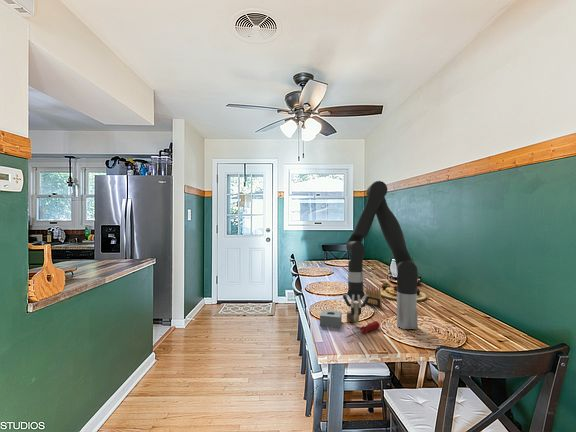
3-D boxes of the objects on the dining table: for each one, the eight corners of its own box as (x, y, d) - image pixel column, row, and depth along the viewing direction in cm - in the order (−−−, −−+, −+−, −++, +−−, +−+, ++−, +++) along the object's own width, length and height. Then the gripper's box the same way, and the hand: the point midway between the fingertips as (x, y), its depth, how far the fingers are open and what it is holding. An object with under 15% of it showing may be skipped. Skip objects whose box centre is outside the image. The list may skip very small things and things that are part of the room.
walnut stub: (356, 319, 158) (356, 311, 158) (355, 322, 154) (355, 314, 154) (346, 319, 159) (346, 310, 159) (346, 322, 155) (346, 313, 155)
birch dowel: (358, 320, 151) (358, 302, 151) (359, 322, 148) (358, 304, 148) (353, 320, 151) (353, 302, 151) (353, 321, 149) (353, 303, 149)
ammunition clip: (381, 307, 182) (381, 287, 182) (380, 307, 180) (380, 287, 181) (366, 303, 190) (366, 284, 190) (364, 303, 188) (364, 284, 188)
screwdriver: (342, 340, 132) (342, 332, 132) (373, 326, 148) (374, 319, 148) (348, 342, 129) (349, 334, 129) (380, 329, 146) (380, 321, 146)
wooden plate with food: (368, 293, 217) (368, 281, 217) (401, 288, 230) (401, 277, 230) (402, 305, 188) (402, 292, 188) (437, 299, 201) (437, 287, 201)
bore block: (341, 320, 156) (341, 311, 156) (340, 327, 147) (340, 317, 147) (322, 319, 159) (322, 309, 159) (319, 325, 149) (319, 315, 149)
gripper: (369, 279, 152) (370, 313, 152) (341, 278, 155) (342, 311, 155) (370, 282, 145) (370, 318, 145) (341, 281, 148) (341, 316, 148)
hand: (356, 314), depth 150 cm, fingers closed on birch dowel, 2 cm apart
